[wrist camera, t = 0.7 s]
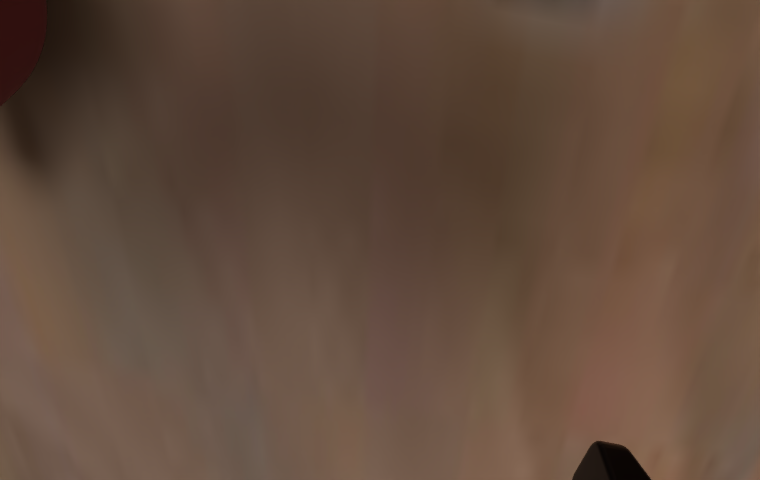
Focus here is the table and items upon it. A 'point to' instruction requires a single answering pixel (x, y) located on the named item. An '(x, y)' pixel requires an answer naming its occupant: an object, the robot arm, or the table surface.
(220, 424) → the table surface
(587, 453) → the robot arm
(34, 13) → the mug
